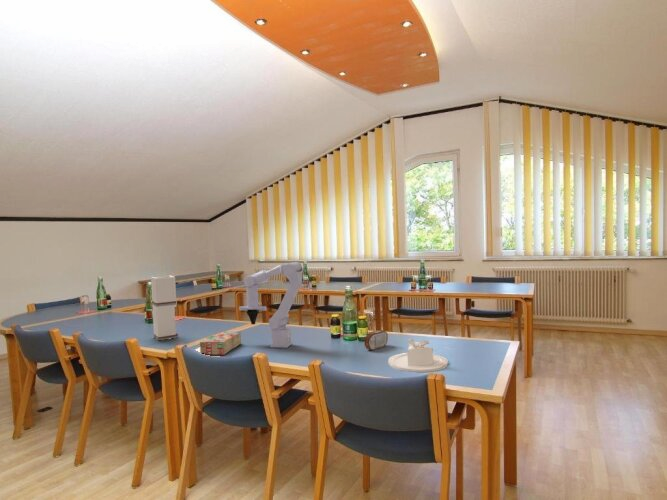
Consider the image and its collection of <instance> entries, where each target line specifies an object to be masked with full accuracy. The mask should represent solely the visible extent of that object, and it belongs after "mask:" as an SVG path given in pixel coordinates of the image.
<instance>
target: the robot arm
mask: <svg viewBox="0 0 667 500" xmlns="http://www.w3.org/2000/svg"><path fill="white" fill-rule="evenodd" d="M303 271H304V269H303V267H302V264H301V263H300V262H298V261H294V262H286V263H283V264H279V265H277V266H275V267H273V268H270V269H269V270H266V269H260V270H259V271H258V272H254V273H252V274H251V275H246V276H245V277H244V279H243V284H244V286H245V287H246V305H244V306H243V305H242V306H238V311H246V314H247V316H248V317H249V320H250V323H251V325H255V324H256V323H257V322H256V321H257V317H258V314H259V312H260V311H262V312H264V311H267V310H268V309H267V306H265V305H264V306H263V305H259V293H258V288H259V285H260V284H262V283H264V282H267V281H269V280H270V277H272V276H275V275H276V276H277V275H278V274H281V275H282V274H284V277H286V278H287V280H288V282H289V285H288V288H287V289H286V292H285V294H284V296H283V297H282V300H281V303H280V305H279V307H278V309H277V310H276V311H275V312H274V313H273V315H272V317H269V320H268V326H269V328H271V342H272V343H271V345H270V346H269V348H288V347H290V346H291V345H292V344H293V343H292V330H291V329H290V328H287V324H288V322H289V316H290V314H289V311H290V309H291V307H292V305H293V304H294V301H295V299H296V297H297V295H298V293H299V291H300V288H301V286H302V284H303Z"/></svg>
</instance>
